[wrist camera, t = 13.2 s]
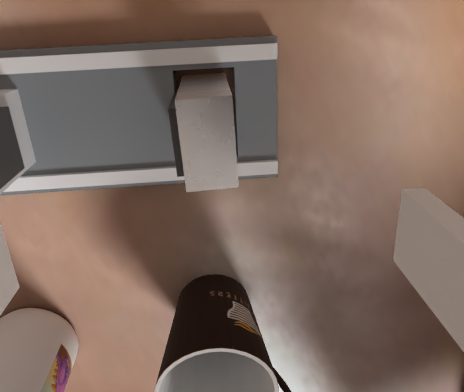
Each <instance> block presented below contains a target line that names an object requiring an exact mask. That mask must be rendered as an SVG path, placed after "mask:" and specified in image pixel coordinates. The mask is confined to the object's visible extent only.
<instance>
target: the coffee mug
mask: <svg viewBox="0 0 464 392" xmlns="http://www.w3.org/2000/svg"><path fill="white" fill-rule="evenodd" d="M278 384H279V385H280V387H281V389H282V390H283V391H284V392H291V390H290V389H289V387H288V386H287V384H286V383H285V381H284V380H283V379H282V378H281V376H280V375H279V374H278V372H277V371H276V370H275V369H274V368H273V367H272V364H271V361H270V358H269V355H268V353H267V350H266V347H265V344H264V341H263V338H262V335H261V333H260V330H259V327H258V324H257V321H256V318H255V315H254V313H253V310H252V307H251V304H250V301H249V298H248V295H247V293H246V291H245V289H244V288H243V287H242V285H241V284H240V283H238V282H237V281H236V280H234V279H232V278H230V277H227V276H223V275H206V276H202V277H199V278H197V279H195V280H193V281H192V282H190V283H189V284H188V285H187V286H186V287H185V288H184V289H183V291H182V292H181V295H180V297H179V301H178V304H177V308H176V312H175V316H174V319H173V323H172V327H171V331H170V334H169V338H168V342H167V345H166V349H165V353H164V357H163V360H162V364H161V368H160V371H159V375H158V379H157V383H156V386H155V392H279V386H278Z"/></svg>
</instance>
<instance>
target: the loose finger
mask: <svg viewBox="0 0 464 392" xmlns="http://www.w3.org/2000/svg"><path fill="white" fill-rule="evenodd" d="M168 113H169V120H170V127H171V135H172V142H173V149H174V157H175V164H176V171H177V177H182V176H184V178H185V186H186V192H195V191H206V190H217V189H228V188H239V182H238V168H237V154H236V140H235V126H234V112H233V99H232V93H231V90H230V87H229V84H228V82H227V79H226V76H225V73H213V74H201V75H189V76H182V79H181V82H180V86H179V89H178V92H175V93H174V94H173V97H172V99H171V102H170V105H169V107H168Z"/></svg>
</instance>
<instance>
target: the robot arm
mask: <svg viewBox="0 0 464 392" xmlns="http://www.w3.org/2000/svg"><path fill="white" fill-rule="evenodd" d="M393 261H394V262H395V263H396V265H397V266H398V267H399V269H400V270H401V271H402V273H403V274H404V275H405V276H406V278H407V279H408V280H409V282H410V283H411V284H412V286H413V287H414V288H415V290H416V291H417V292H418V293H419V295H420V296H421V297H422V299H423V300H424V301H425V303H426V304H427V305H428V306H429V308H430V309H431V310H432V312H433V313H434V314H435V316H436V317H437V318H438V319H439V321H440V322H441V323H442V325H443V326H444V327H445V329H446V330H447V331H448V332H449V334H450V335H451V336H452V338H453V339H454V340H455V342H456V343H457V344H458V345H459V347H460V348H461V349H462V351H463V352H464V218H463V217H462V216H461V215H459V214H458V213H457V212H456V211H454V210H453V209H452V208H450V207H449V206H448V205H447V204H445V203H444V202H443V201H441V200H440V199H439V198H438V197H436V196H435V195H434V194H432V193H431V192H430V191H429V190H427V189H426V188H425V187H422V188H407V189H402V192H401V200H400V208H399V216H398V224H397V232H396V240H395V248H394V256H393ZM19 288H20V287H19V283H18V280H17V277H16V273H15V270H14V267H13V263H12V260H11V257H10V253H9V250H8V247H7V243H6V240H5V237H4V234H3V230H2V227H1V224H0V315H1V314H2V312H3V311H4V310H5V308H6V307H7V305H8V304H9V302H10V301H11V299H12V298H13V296H14V295H15V294H16V292H17V291H18V289H19Z"/></svg>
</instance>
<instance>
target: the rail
mask: <svg viewBox="0 0 464 392" xmlns="http://www.w3.org/2000/svg"><path fill="white" fill-rule="evenodd" d="M277 59H278V43H277V36H274V35H270V36H252V37H233V38H214V39H195V40H177V41H158V42H139V43H121V44H102V45H83V46H65V47H46V48H27V49H9V50H0V195H13V194H28V193H43V192H58V191H73V190H88V189H103V188H118V187H133V186H148V185H163V184H178V183H185V178H184V176H182V177H177V171H176V164H175V157H174V149H173V142H172V135H171V127H170V120H169V113H168V107H169V105H170V102H171V99H172V97H173V94H174V93H175V92H176V86H175V76H174V70H192V69H210V68H227V67H233V80H234V102H235V125H236V148H237V151H236V154H237V168H238V179H252V178H267V177H277V174H278V160H277Z"/></svg>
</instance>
